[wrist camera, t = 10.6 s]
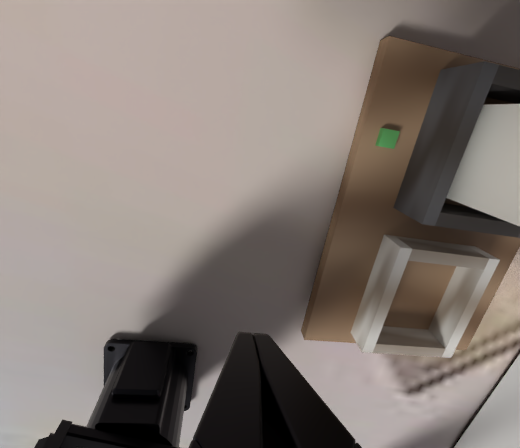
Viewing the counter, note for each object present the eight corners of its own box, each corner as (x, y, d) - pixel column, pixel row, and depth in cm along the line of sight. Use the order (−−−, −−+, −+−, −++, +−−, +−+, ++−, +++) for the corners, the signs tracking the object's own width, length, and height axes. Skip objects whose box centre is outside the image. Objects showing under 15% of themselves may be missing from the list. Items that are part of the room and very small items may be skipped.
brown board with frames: (457, 341, 25) (496, 380, 22) (301, 330, 23) (315, 372, 19) (582, 90, 19) (670, 85, 15) (380, 40, 16) (425, 19, 13)
